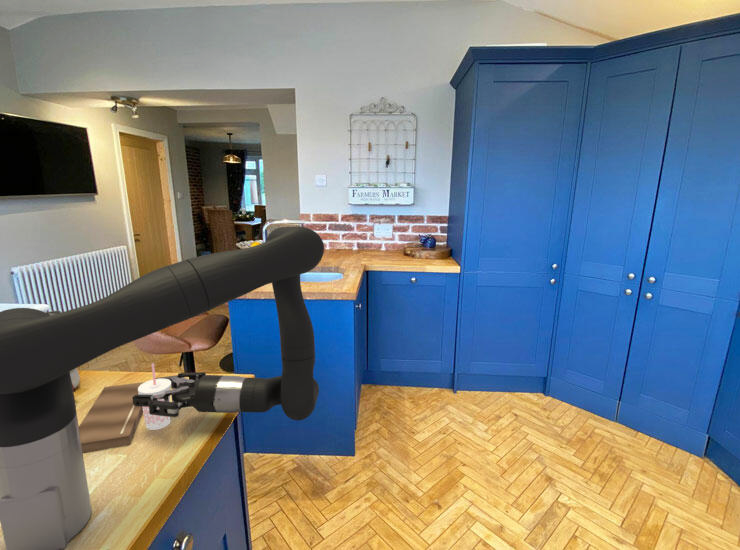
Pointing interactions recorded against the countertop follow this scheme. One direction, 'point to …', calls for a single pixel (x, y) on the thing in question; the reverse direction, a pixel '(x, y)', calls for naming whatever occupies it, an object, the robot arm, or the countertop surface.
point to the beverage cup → (155, 389)
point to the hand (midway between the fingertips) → (144, 391)
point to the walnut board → (111, 418)
